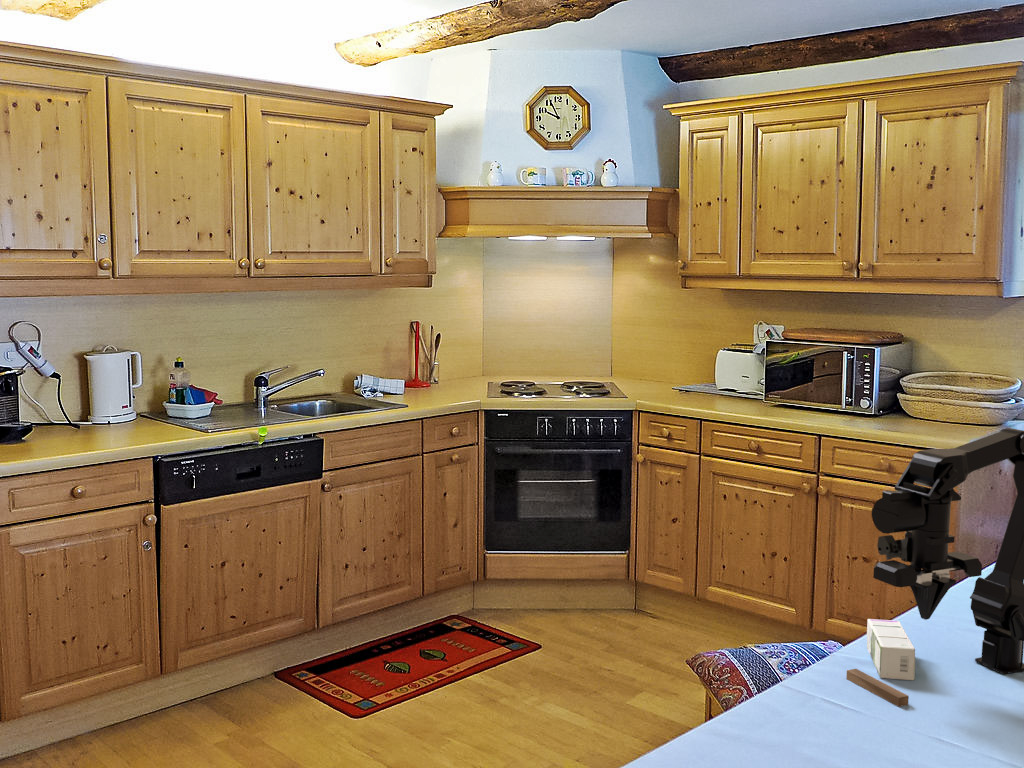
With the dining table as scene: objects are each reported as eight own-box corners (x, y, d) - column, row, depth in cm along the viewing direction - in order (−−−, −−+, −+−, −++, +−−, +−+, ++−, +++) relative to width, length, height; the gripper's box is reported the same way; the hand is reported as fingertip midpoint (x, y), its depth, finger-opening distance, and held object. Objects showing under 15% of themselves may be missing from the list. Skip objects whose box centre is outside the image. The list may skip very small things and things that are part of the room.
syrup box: (916, 648, 175) (901, 619, 189) (879, 646, 176) (867, 617, 190) (914, 681, 175) (899, 650, 189) (878, 678, 176) (865, 647, 190)
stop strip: (855, 677, 177) (856, 668, 177) (908, 704, 166) (908, 695, 166) (846, 678, 176) (846, 670, 176) (898, 706, 165) (899, 697, 165)
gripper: (935, 512, 183) (930, 597, 185) (852, 521, 175) (847, 610, 177) (987, 527, 173) (980, 617, 174) (901, 537, 165) (895, 632, 167)
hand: (925, 618), depth 174 cm, fingers closed
